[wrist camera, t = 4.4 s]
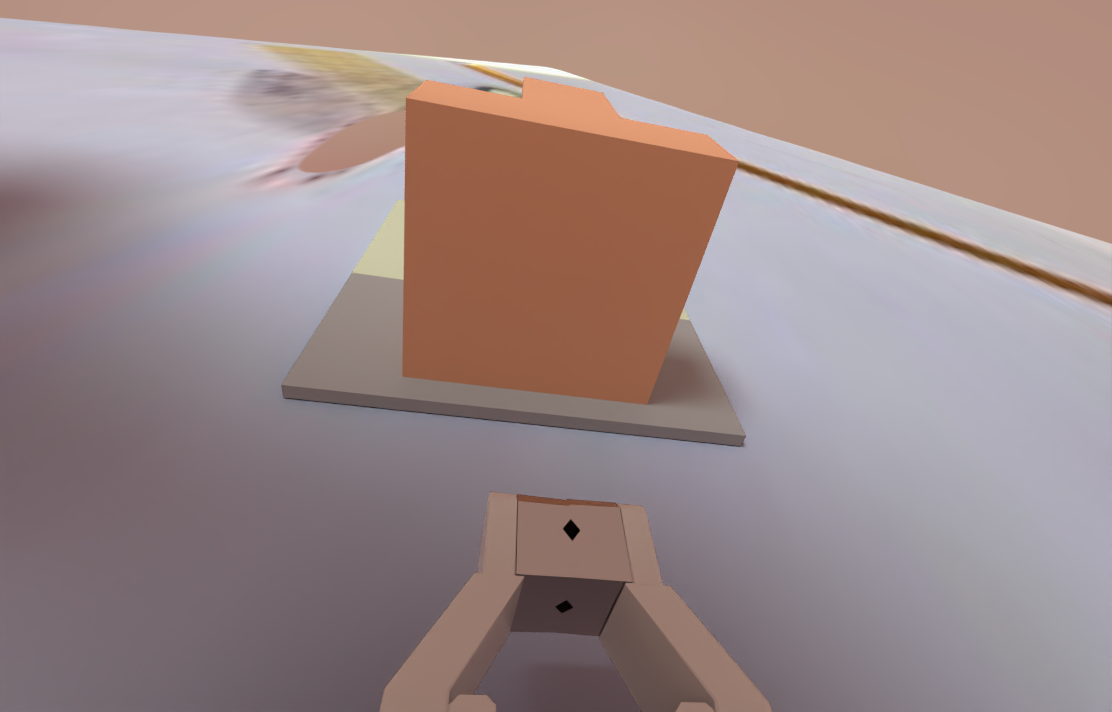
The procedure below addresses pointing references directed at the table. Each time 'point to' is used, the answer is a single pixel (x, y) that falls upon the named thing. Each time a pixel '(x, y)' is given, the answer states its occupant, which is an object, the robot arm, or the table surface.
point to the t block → (549, 239)
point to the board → (376, 381)
